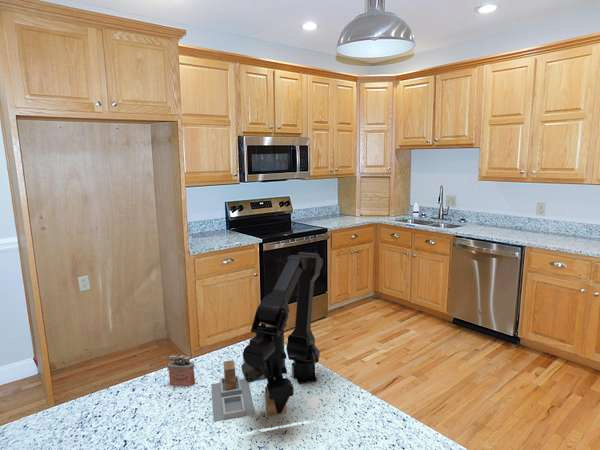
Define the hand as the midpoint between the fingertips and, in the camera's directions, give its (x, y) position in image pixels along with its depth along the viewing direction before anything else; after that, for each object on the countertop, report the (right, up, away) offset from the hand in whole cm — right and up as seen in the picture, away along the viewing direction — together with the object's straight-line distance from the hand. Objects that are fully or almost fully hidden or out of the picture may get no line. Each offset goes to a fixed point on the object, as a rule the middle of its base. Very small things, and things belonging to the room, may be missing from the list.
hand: (275, 402), depth 106 cm
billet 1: (-14, -1, +11) cm, 18 cm away
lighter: (-29, -2, +15) cm, 33 cm away
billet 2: (0, -3, 0) cm, 3 cm away
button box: (-7, 0, +19) cm, 20 cm away
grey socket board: (-13, -3, +6) cm, 15 cm away
